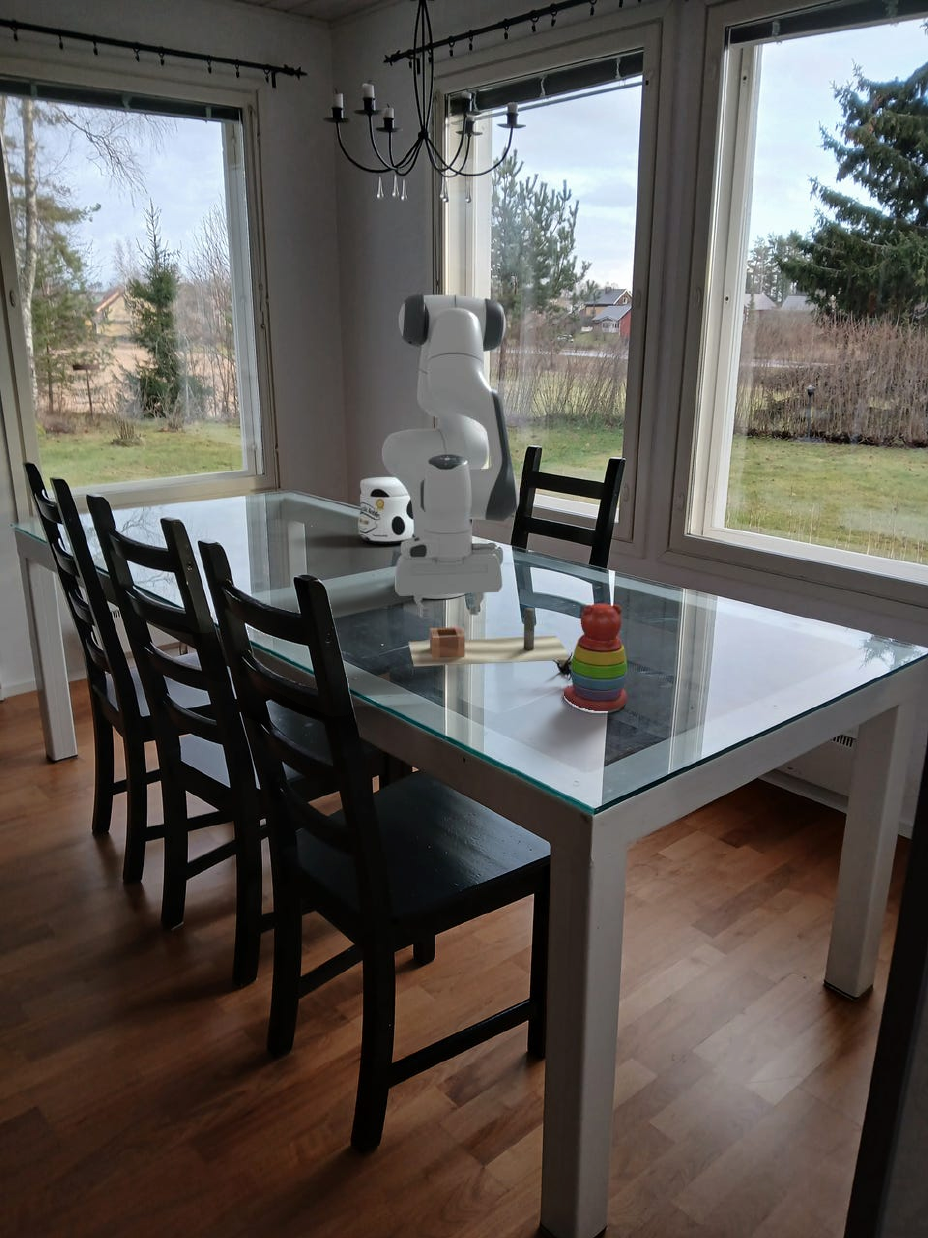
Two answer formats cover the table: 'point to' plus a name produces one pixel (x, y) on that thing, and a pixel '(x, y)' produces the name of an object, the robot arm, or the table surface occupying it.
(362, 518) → the milk container
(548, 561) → the table surface
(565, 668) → the creature
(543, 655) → the board
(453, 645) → the bead
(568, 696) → the stacking bear
